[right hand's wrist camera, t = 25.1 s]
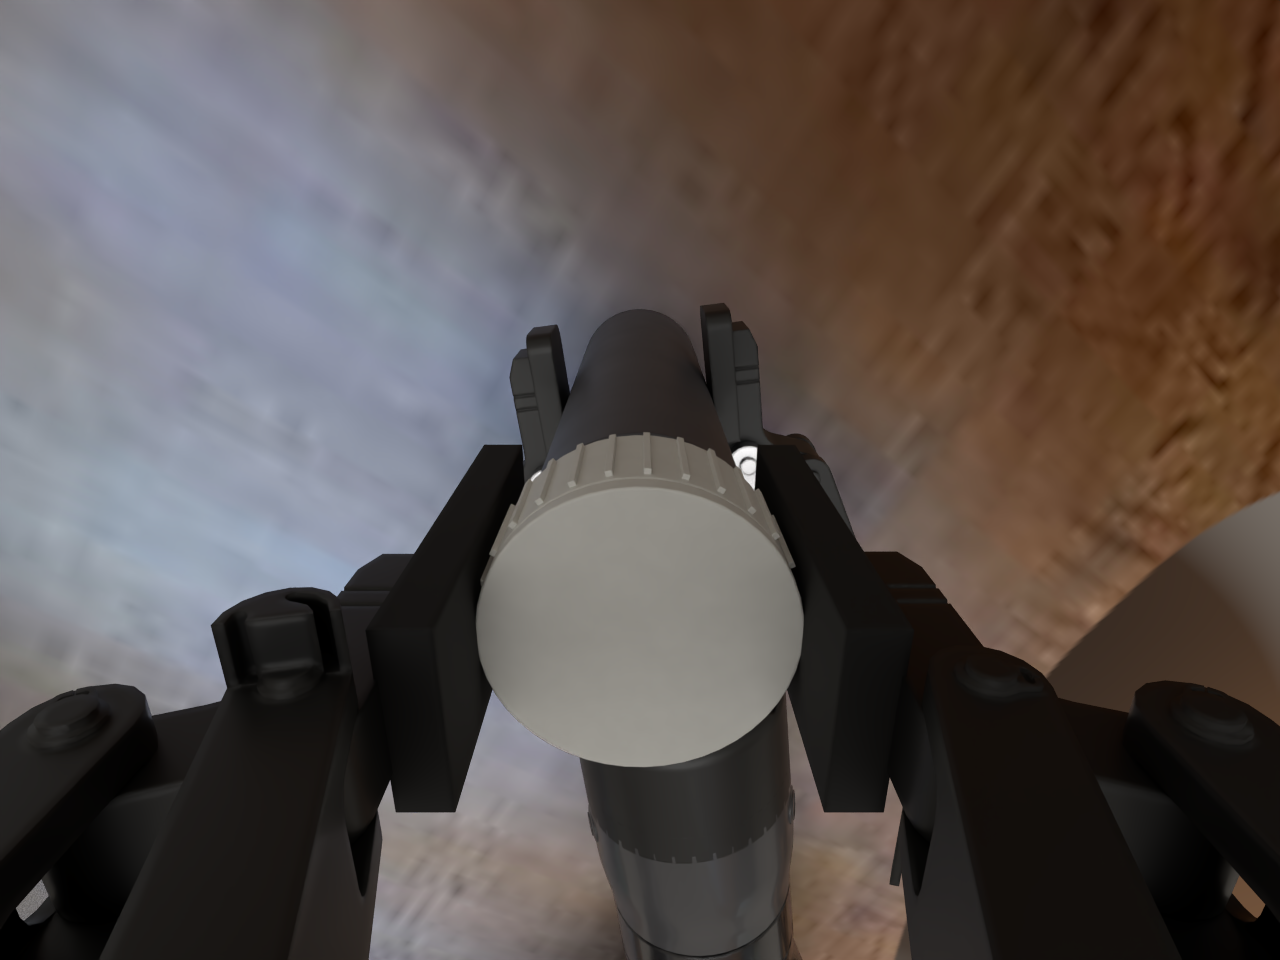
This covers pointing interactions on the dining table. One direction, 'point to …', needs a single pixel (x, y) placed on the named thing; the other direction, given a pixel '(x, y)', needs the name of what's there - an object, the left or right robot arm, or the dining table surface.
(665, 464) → the lid
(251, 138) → the dining table surface
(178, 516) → the dining table surface
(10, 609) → the dining table surface
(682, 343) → the dark grey cylinder
